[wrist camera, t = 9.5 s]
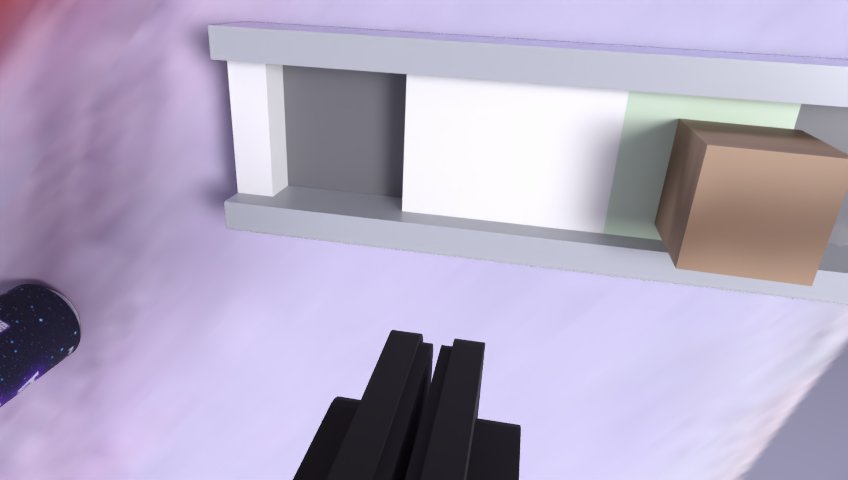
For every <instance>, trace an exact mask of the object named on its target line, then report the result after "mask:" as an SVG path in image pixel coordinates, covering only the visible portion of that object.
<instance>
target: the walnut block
mask: <svg viewBox="0 0 848 480" xmlns="http://www.w3.org/2000/svg"><path fill="white" fill-rule="evenodd" d="M847 189H848V154H846V153H844V152H842V151H840V150H838V149H836V148H835V147H833V146H831V145H829V144H827V143H825V142H823V141H821V140H819V139H818V138H816V137H814V136H812V135H810V134H808V133H806V132H804V131H802V130H796V129H786V128H775V127H765V126H754V125H743V124H733V123H722V122H712V121H701V120H690V119H680V118H679V121H678V125H677V129H676V133H675V138H674V142H673V146H672V151H671V155H670V159H669V163H668V168H667V172H666V176H665V180H664V185H663V189H662V193H661V198H660V202H659V206H658V210H657V215H656V219H655V223H654V224H655V226H656V228H657V230H658V232H659V235H660V237H661V239H662V241H663V243H664V245H665V247H666V249H667V251H668V253H669V256H670V258H671V260H672V262H673V264H674V266H675V268H676V269H683V270H691V271H698V272H706V273H714V274H721V275H729V276H737V277H744V278H752V279H759V280H767V281H775V282H782V283H790V284H798V285H805V286H812V284H813V282H814V279H815V276H816V274H817V271H818V268H819V265H820V263H821V260H822V257H823V254H824V252H825V249H826V246H827V243H828V241H829V238H830V235H831V232H832V230H833V227H834V224H835V222H836V219H837V216H838V213H839V211H840V208H841V205H842V202H843V200H844V197H845V194H846V191H847Z"/></svg>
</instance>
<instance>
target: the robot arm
mask: <svg viewBox="0 0 848 480" xmlns="http://www.w3.org/2000/svg"><path fill="white" fill-rule="evenodd" d="M484 350H485V343H483V342H476V341H468V340H461V339H454V343H453V347H452V346H445V345H442V346H441V349H440V353H439V356H438V360H437V364H436V367H435V371H434V374H433V378H432V382H431V374H432V358H433V344H431V343H424V342H423V335H422V334H418V333H411V332H403V331H396V330H392V331H391V332H390V334H389V337H388V339H387V341H386V344H385V346H384V348H383V350H382V353H381V355H380V357H379V360H378V362H377V364H376V367H375V369H374V371H373V374H372V376H371V378H370V380H369V383H368V385H367V387H366V390H365V392H364V394H363V397H362V399H361V400H357V399H350V398H344V397H336V398H335V399H334V400H333V402H332V403H331V405H330V407H329V409H328V411H327V413H326V415H325V417H324V419H323V421H322V423H321V425H320V427H319V429H318V431H317V433H316V435H315V437H314V439H313V441H312V443H311V445H310V447H309V449H308V451H307V453H306V455H305V457H304V459H303V461H302V463H301V465H300V467H299V469H298V471H297V473H296V475H295V477H294V479H293V480H519V460H520V436H521V427H520V425H515V424H509V423H503V422H496V421H490V420H484V419H477V417H478V408H479V398H480V388H481V379H482V369H483V360H484Z"/></svg>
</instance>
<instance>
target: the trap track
mask: <svg viewBox="0 0 848 480" xmlns="http://www.w3.org/2000/svg"><path fill="white" fill-rule="evenodd" d="M208 36H209V47H210V57H211V60H225V61H227V67H228V79H229V91H230V104H231V116H232V128H233V140H234V152H235V164H236V177H237V189H238V193H237V194H235V195H233V196H232V197H230V198H229V199H227V200H226V201H224V208H225V219H226V229H232V230H240V231H249V232H257V233H265V234H273V235H281V236H289V237H297V238H306V239H314V240H322V241H330V242H338V243H346V244H355V245H363V246H371V247H379V248H387V249H395V250H404V251H412V252H420V253H428V254H436V255H444V256H453V257H461V258H469V259H477V260H485V261H493V262H502V263H510V264H518V265H526V266H534V267H542V268H550V269H559V270H567V271H575V272H583V273H591V274H599V275H608V276H616V277H624V278H632V279H640V280H648V281H657V282H665V283H673V284H681V285H689V286H697V287H706V288H714V289H722V290H730V291H738V292H746V293H755V294H763V295H771V296H779V297H787V298H795V299H803V300H812V301H820V302H828V303H836V304H844V305H848V189H847V191H846V194H845V197H844V200H843V202H842V205H841V208H840V211H839V213H838V216H837V219H836V222H835V224H834V227H833V230H832V232H831V235H830V238H829V241H828V243H827V246H826V249H825V252H824V254H823V257H822V260H821V263H820V265H819V268H818V271H817V274H816V276H815V279H814V282H813V284H812V286H805V285H798V284H790V283H782V282H775V281H767V280H759V279H752V278H744V277H737V276H729V275H721V274H714V273H706V272H698V271H691V270H683V269H676V268H675V266H674V264H673V262H672V260H671V258H670V256H669V253H668V251H667V249H666V247H665V245H664V243H663V241H662V239H661V237H660V235H659V232H658V230H657V228H656V226H655V224H654V223H655V219H656V215H657V210H658V206H659V202H660V198H661V193H662V189H663V185H664V180H665V176H666V172H667V168H668V163H669V159H670V155H671V151H672V146H673V142H674V138H675V133H676V129H677V125H678V121H679V118H680V119H690V120H701V121H712V122H722V123H733V124H743V125H754V126H765V127H775V128H786V129H796V130H802V131H804V132H806V133H808V134H810V135H812V136H814V137H816V138H818V139H819V140H821V141H823V142H825V143H827V144H829V145H831V146H833V147H835V148H836V149H838V150H840V151H842V152H844V153H846V154H848V60H847V59H832V58H816V57H800V56H784V55H768V54H753V53H737V52H721V51H705V50H690V49H674V48H658V47H642V46H627V45H611V44H595V43H579V42H564V41H548V40H532V39H516V38H500V37H485V36H469V35H453V34H437V33H422V32H406V31H390V30H374V29H359V28H343V27H327V26H311V25H296V24H280V23H264V22H237V23H226V24H215V25H208Z"/></svg>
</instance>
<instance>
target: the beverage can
mask: <svg viewBox="0 0 848 480" xmlns="http://www.w3.org/2000/svg"><path fill="white" fill-rule="evenodd" d="M79 342H80V319H79V316H78V313H77V311H76V309H75V308H74V306H73V305H72V303H71V302H70V301H69V300H68V299H67V298H66V297H64V296H63V295H61V294H60V293H58V292H56V291H54V290H51V289H47V288H44V287H41V286H38V285H32V284H25V285H20V286H17V287H15V288H13V289H12V290H10V291H8V292H6V293H4V294H2V295H1V296H0V407H1V406H3V405H4V404H5V403H6V402H8V401H9V400H10V399H12V398H13V397H14V396H16V395H17V394H18V393H20V392H21V391H22V390H24V389H25V388H26V387H28V386H29V385H30V384H32V383H33V382H34V381H36V380H37V379H38V378H40V377H41V376H42V375H44V374H45V373H46V372H47V371H49V370H50V369H51V368H53V367H54V366H55V365H57V364H58V363H59V362H61V361H62V360H63V359H65V358H66V357H67V356H69V355H70V354H71V353H73V352H74V351H75V350H76V348H77V347H78V345H79Z"/></svg>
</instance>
